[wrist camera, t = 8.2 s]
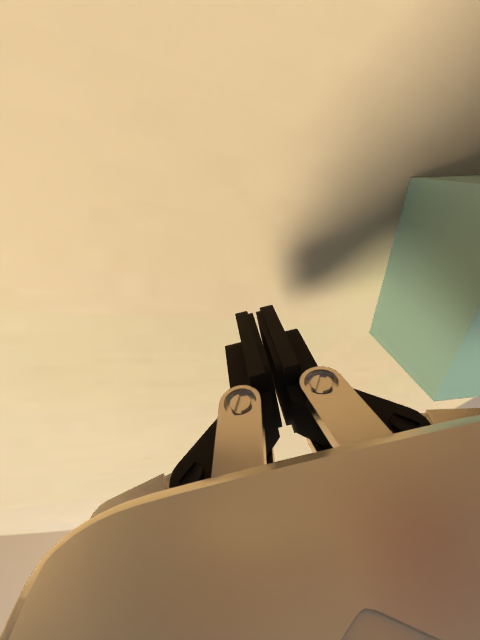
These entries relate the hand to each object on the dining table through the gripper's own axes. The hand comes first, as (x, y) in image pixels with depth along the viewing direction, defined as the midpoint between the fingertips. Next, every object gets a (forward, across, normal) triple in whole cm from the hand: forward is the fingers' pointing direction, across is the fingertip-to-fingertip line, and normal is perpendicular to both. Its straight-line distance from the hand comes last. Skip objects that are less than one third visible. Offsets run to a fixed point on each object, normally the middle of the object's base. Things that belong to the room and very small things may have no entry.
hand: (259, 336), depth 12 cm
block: (+4, -12, +1) cm, 12 cm away
